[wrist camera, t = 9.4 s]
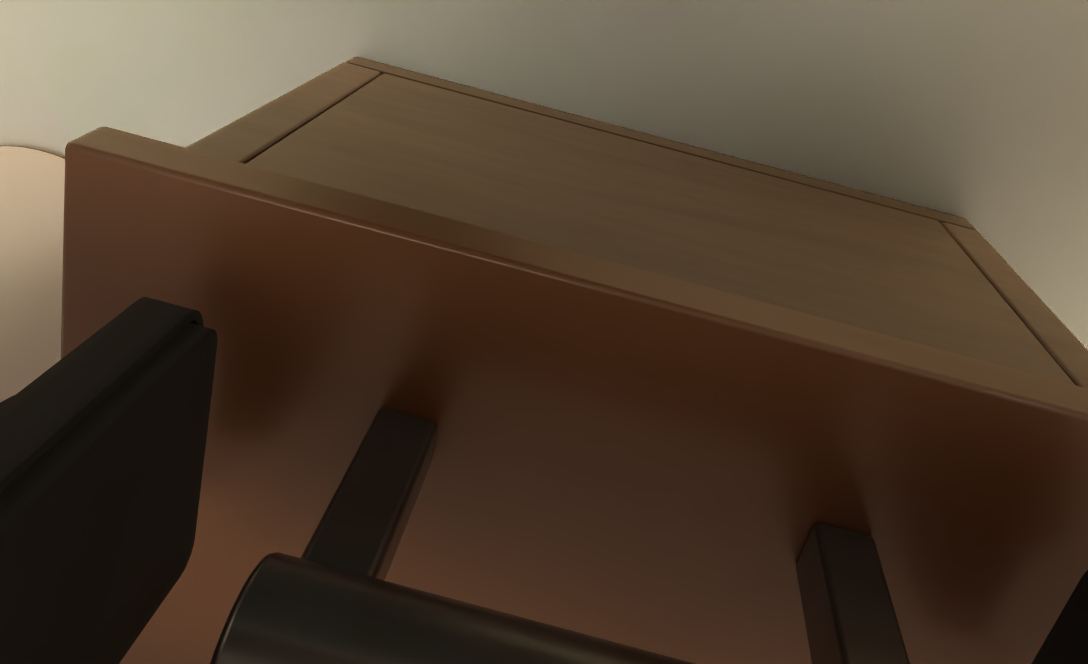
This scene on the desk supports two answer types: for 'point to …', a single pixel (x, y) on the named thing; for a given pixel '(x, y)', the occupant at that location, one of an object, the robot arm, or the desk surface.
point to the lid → (561, 447)
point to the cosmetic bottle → (30, 265)
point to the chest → (656, 209)
